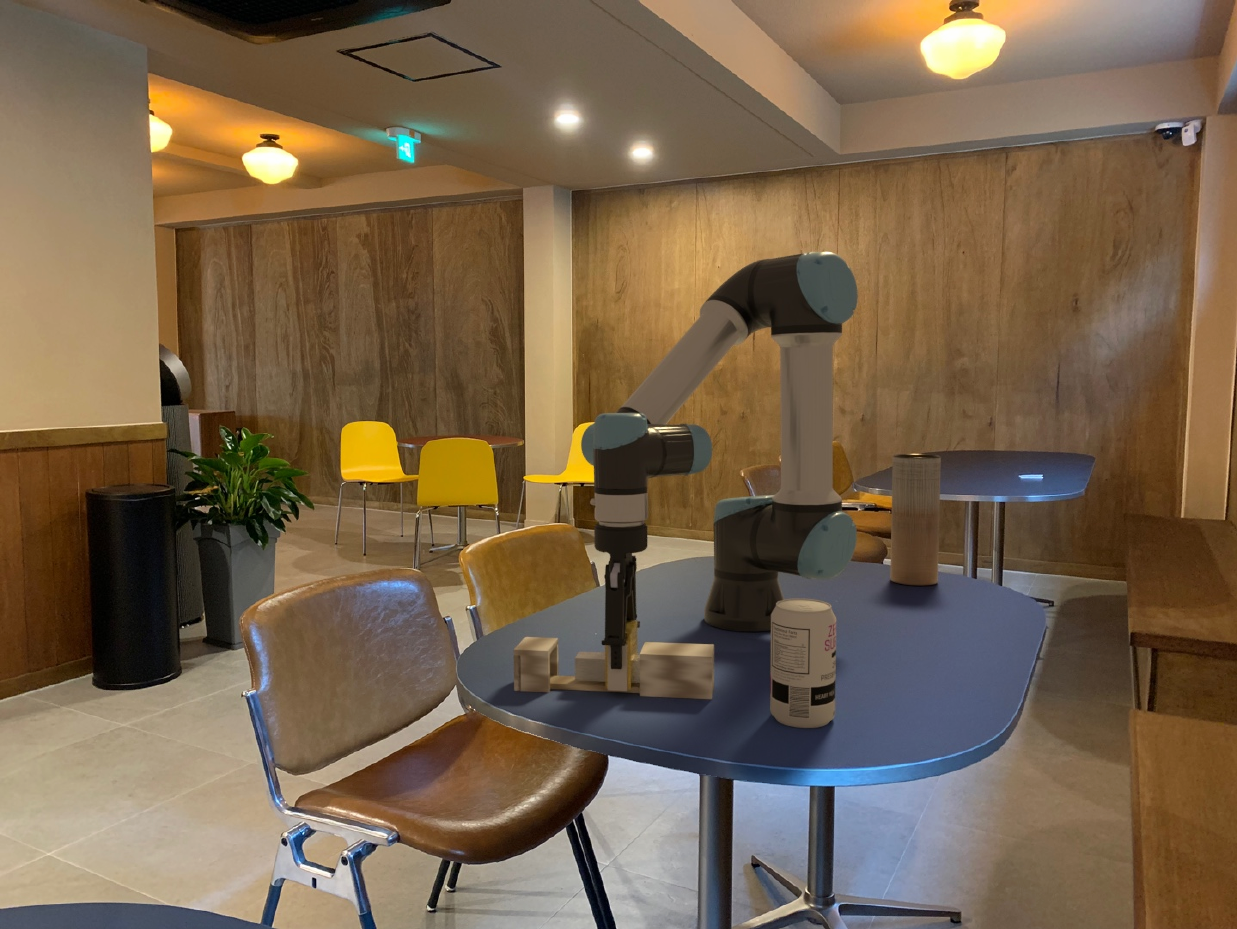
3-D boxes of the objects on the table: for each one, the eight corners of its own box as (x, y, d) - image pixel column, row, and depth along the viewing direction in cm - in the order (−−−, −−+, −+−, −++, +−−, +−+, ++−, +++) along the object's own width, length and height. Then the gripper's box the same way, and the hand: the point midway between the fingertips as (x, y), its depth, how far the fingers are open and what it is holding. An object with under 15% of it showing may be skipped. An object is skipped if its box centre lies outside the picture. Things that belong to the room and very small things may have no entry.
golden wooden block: (714, 677, 131) (714, 623, 130) (711, 693, 124) (711, 636, 123) (582, 671, 134) (581, 618, 133) (572, 687, 127) (571, 631, 126)
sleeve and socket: (714, 684, 131) (714, 644, 130) (711, 700, 124) (711, 657, 124) (526, 676, 135) (525, 636, 135) (514, 690, 129) (513, 649, 128)
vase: (944, 586, 194) (947, 457, 191) (897, 586, 194) (900, 457, 192) (929, 576, 204) (931, 453, 201) (884, 576, 204) (887, 453, 201)
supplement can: (763, 708, 121) (764, 598, 120) (823, 706, 122) (825, 596, 121) (779, 731, 113) (780, 613, 112) (843, 728, 114) (845, 611, 113)
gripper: (606, 512, 138) (607, 659, 140) (580, 533, 118) (582, 703, 120) (655, 513, 137) (655, 661, 139) (637, 534, 117) (638, 706, 119)
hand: (621, 680), depth 130 cm, fingers closed on golden wooden block, 7 cm apart
